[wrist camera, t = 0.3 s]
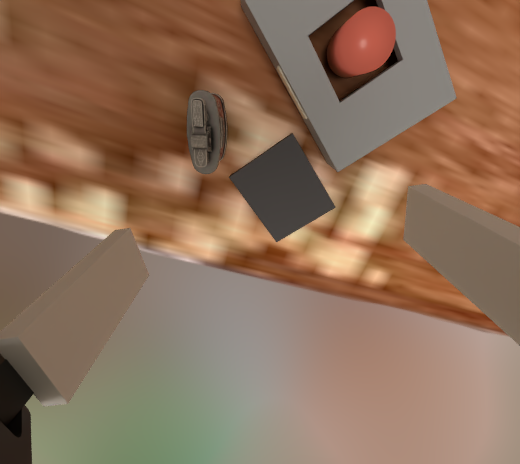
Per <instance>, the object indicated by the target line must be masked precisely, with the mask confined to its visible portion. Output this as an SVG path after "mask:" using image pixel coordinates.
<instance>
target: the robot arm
mask: <svg viewBox="0 0 520 464" xmlns="http://www.w3.org/2000/svg"><path fill="white" fill-rule="evenodd" d="M404 241H405V242H406V243H408V244H409V245H410V246H411V247H412V248H413V249H414V250H415V251H416V252H417V253H419V254H420V255H421V256H422V257H423V258H424V259H425V260H426V261H427V262H428V263H430V264H431V265H432V266H433V267H434V268H435V269H436V270H437V271H438V272H439V273H441V274H442V275H443V276H444V277H445V278H446V279H447V280H448V281H449V282H450V283H452V284H453V285H454V286H455V287H456V288H457V289H458V290H459V291H460V292H461V293H463V294H464V295H465V296H466V297H467V298H468V299H469V300H470V301H471V302H472V303H474V304H475V305H476V306H477V307H478V308H479V309H480V310H481V311H482V312H483V313H485V314H486V315H487V316H488V317H489V318H490V319H491V320H492V321H493V322H494V323H496V324H497V325H498V326H499V327H500V328H501V329H502V330H503V331H504V332H505V333H507V334H508V335H509V336H510V337H511V338H512V339H513V340H514V341H515V342H516V343H518V344H519V345H520V227H518V226H516V225H514V224H512V223H509V222H507V221H505V220H503V219H501V218H499V217H496V216H494V215H492V214H490V213H488V212H486V211H483V210H481V209H479V208H477V207H475V206H473V205H470V204H468V203H466V202H464V201H462V200H459V199H457V198H455V197H453V196H451V195H449V194H446V193H444V192H442V191H440V190H438V189H436V188H433V187H431V186H429V185H427V184H422V185H415V186H408V196H407V207H406V218H405V229H404ZM148 276H149V273H148V271H147V269H146V266H145V263H144V261H143V259H142V256H141V253H140V251H139V248H138V246H137V244H136V241H135V239H134V236H133V234H132V231H131V229H130V228H127V229H120V230H115V231H114V232H112V233H111V234H110V235H109V236H108V237H107V238H106V239H104V240H103V241H102V242H101V243H100V244H99V245H98V246H97V247H96V248H94V249H93V250H92V251H91V252H90V253H89V254H87V256H85V257H84V258H83V259H82V260H81V261H79V262H78V263H77V264H76V265H75V266H74V267H73V268H72V269H70V270H69V271H68V272H67V273H66V274H65V275H64V276H62V277H61V278H60V279H59V280H58V281H57V282H56V283H55V284H53V285H52V286H51V287H50V288H49V289H48V290H47V291H45V292H44V293H43V294H42V295H41V296H40V297H39V298H37V299H36V300H35V301H34V302H33V303H32V304H31V305H30V306H28V307H27V308H26V309H25V310H24V311H23V312H22V313H20V314H19V315H18V316H17V317H16V318H15V319H14V320H13V321H11V322H10V323H9V324H8V325H7V326H6V327H5V328H3V329H2V330H1V331H0V464H32V451H31V417H30V416H31V415H30V412H29V410H28V408H27V407H26V406H25V404H26V402H27V401H28V400H29V399H30V397H31V396H32V395H33V394H34V395H35V396H36V398H37V399H38V400H39V401H40V402H41V404H42V405H43V406H52V405H61V404H68V403H69V401H70V400H71V398H72V396H73V395H74V393H75V392H76V390H77V389H78V387H79V385H80V384H81V382H82V381H83V379H84V377H85V376H86V374H87V373H88V371H89V370H90V368H91V366H92V365H93V363H94V362H95V360H96V359H97V357H98V355H99V354H100V352H101V351H102V349H103V347H104V346H105V344H106V343H107V341H108V340H109V338H110V336H111V335H112V333H113V332H114V330H115V328H116V327H117V325H118V324H119V322H120V321H121V319H122V317H123V316H124V314H125V313H126V311H127V309H128V308H129V306H130V305H131V303H132V302H133V300H134V298H135V297H136V295H137V294H138V292H139V290H140V289H141V287H142V286H143V284H144V282H145V281H146V279H147V278H148Z"/></svg>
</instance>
